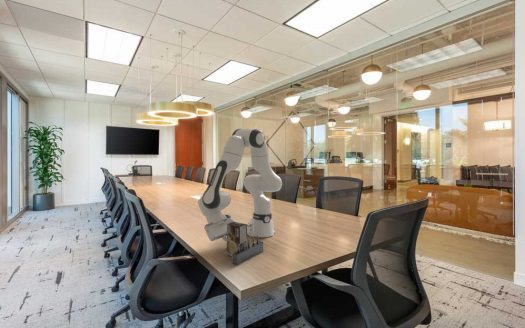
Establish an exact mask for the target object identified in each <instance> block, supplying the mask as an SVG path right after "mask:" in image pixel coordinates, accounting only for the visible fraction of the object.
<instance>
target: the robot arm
mask: <svg viewBox="0 0 525 328" xmlns="http://www.w3.org/2000/svg"><path fill="white" fill-rule="evenodd" d="M245 148H250V161H251V167H252V169H254V170H255V171H256V172H257V173H259V174H255V173H253V174H249V175H246V176H245V178H244V180H243V186H244V188H245V190H247V191H248V193H250V195H251V197H252V199H253V212H252V218H251V219H250V220H249V221H248V222H247V223H246V224H247V236H249V237H252V238H253V237H254V238H257V235H259V238H269V237H271V236H272V237H273V236H274V234H275V233H276V230H274V229H275V228H274V220H273V214H272V201H271V199H270V198H268V197H267V196H265V195H266V194H264V192H265V193H275V192H279V191H280V190H281V189H282V187H283V181H282V179H281V177H280V176H279V175H277V174H276V173H275V172H274V170H273V169H272V167H271V163H270V157H269V156H270V155H269V149H268V145H267V141H266V138H265V133H264V131H262V130H260V129H257V128H256V129H255V128H238V129H237V128H236V130H234V131H233V133H232V134H231V135H230V136H229V137H228V138H227V141H226V142H225V146H224V147H223V151H222V154H221V157H220V160H219V161H218V162H217V164H216V165H215V168H214V170H213V173H212V175H211V178H210V181H209V183H208V185H207V188H206V189H205V190H204V192H203V194H202V196H201V197H200V198H199V200H198V202H197V206H198V208H199V210H200V212H201V214H202V215H203V217H205V219H206V222H207V224H204V227H203V228H204V231H205V233H206V236H207V238H208V239H209V241H211V242H214V241H216V240H217V241H218V240H220V239H222V241H225V242H226V243H227V224H229V223H232V222H235V220H234V219H233V218H232V215H230V214H224V213H222V212H221V211H222V210H224V209H226V208H227V207H229V206H230V204H231V201H232V199H231V195H230V193H228V192H227V191H223V190H221V187H222V184H223V181H224V179H225V177H226V175H227V174H228V173H230V172H233V171H235V170H237V169H238V168H239V167H240V164H241V162H242V158H243V154H244V150H245Z"/></svg>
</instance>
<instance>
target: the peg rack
mask: <svg viewBox="0 0 525 328" xmlns="http://www.w3.org/2000/svg"><path fill="white" fill-rule="evenodd" d="M250 240H251V241H252V244H251V243H250V242H251V241H250ZM263 252H264V241H260V237H259V235H257V237H256V242H255V237H252V239H250V238H249V239H248V238H247V247H245V242H243V249H241V250H240V244H238V251H237V252H235V253H233V254H232V256H231V260H232V261H231V263H232V265H234V266H239V265H241V264H243V263H245V262H246V261H249V260H250V259H252V258H254V257H256V256H257V255H259V254H261V253H263Z"/></svg>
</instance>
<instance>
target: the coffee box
mask: <svg viewBox="0 0 525 328" xmlns="http://www.w3.org/2000/svg"><path fill="white" fill-rule="evenodd" d="M247 224H248V223H242V222H237V221H234V222H232V223H229V224H227V236H226V237H227V242H226V256H231V257H232V254H233V253H235V252H237V251H238V244H240V250H241V249H243V242H245V247H247V246H248V234H247V228H248V227H247Z"/></svg>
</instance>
